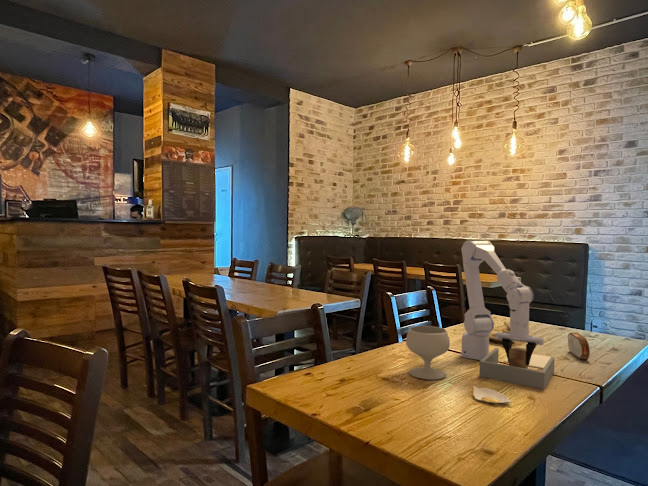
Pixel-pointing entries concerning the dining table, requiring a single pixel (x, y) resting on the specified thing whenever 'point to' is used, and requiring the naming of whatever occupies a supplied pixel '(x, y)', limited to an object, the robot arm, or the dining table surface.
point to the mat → (536, 361)
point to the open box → (515, 372)
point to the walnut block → (517, 357)
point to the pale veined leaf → (490, 395)
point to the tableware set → (499, 341)
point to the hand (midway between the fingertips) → (518, 362)
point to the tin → (578, 345)
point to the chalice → (427, 349)
